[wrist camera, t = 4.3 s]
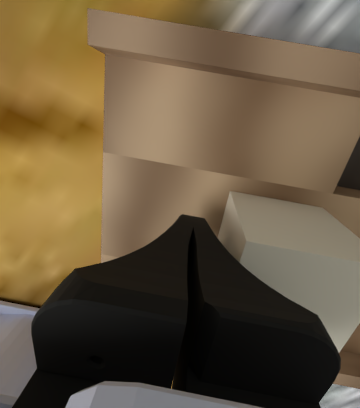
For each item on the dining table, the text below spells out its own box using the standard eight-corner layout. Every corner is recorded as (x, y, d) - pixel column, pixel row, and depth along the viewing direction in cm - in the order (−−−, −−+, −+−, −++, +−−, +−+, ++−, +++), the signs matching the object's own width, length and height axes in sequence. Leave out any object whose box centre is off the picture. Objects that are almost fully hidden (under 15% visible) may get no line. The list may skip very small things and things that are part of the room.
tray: (110, 291, 17) (89, 334, 14) (122, 38, 11) (87, 8, 7) (402, 349, 16) (451, 407, 13) (601, 120, 10) (789, 125, 7)
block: (210, 264, 13) (214, 339, 9) (229, 191, 11) (246, 241, 7) (289, 279, 13) (331, 363, 8) (322, 207, 11) (396, 269, 7)
